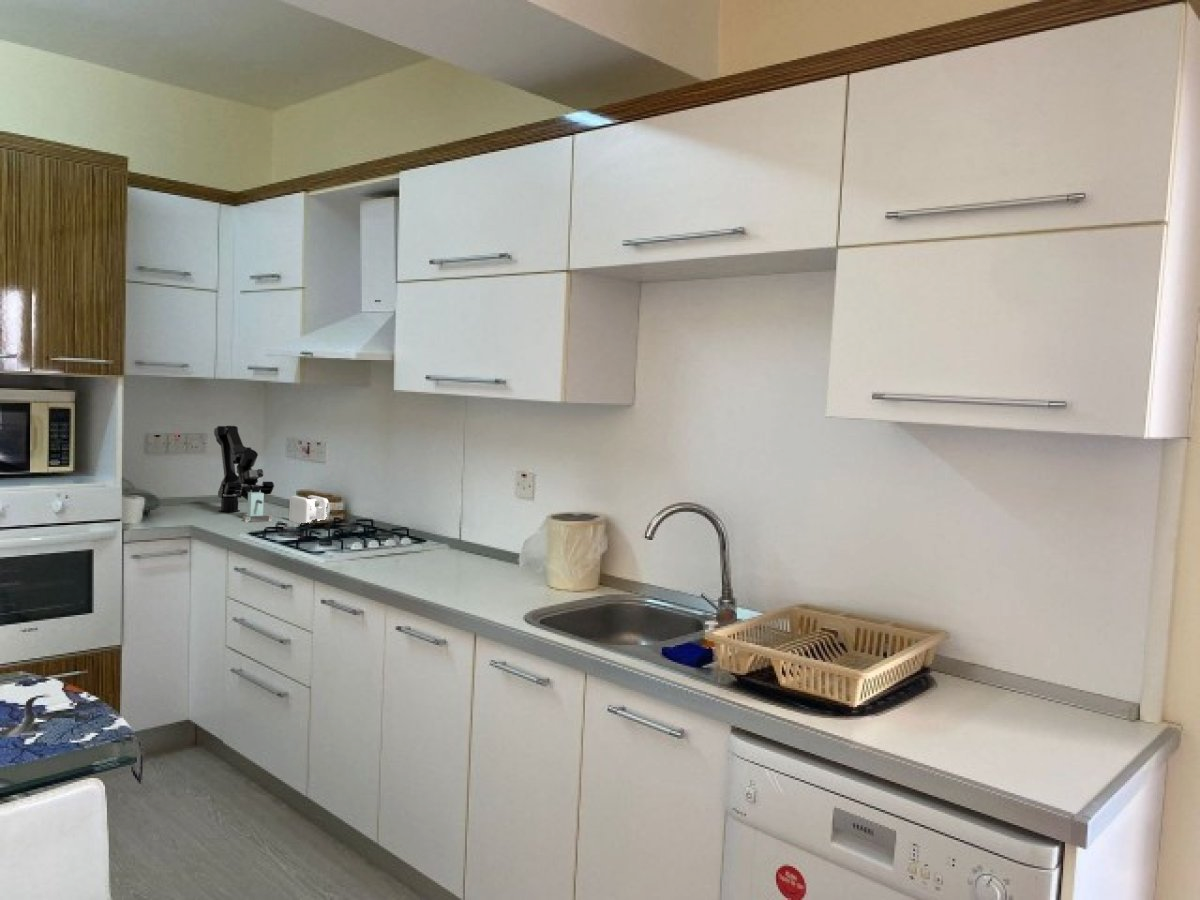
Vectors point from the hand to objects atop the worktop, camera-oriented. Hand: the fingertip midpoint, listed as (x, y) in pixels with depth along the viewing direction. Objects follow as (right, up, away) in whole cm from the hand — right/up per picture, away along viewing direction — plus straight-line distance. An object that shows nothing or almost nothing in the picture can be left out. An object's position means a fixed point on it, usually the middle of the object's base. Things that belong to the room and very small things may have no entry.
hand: (253, 504), depth 361 cm
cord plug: (+3, -7, -4) cm, 8 cm away
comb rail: (0, -7, -1) cm, 7 cm away
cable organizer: (+22, -9, +2) cm, 24 cm away
